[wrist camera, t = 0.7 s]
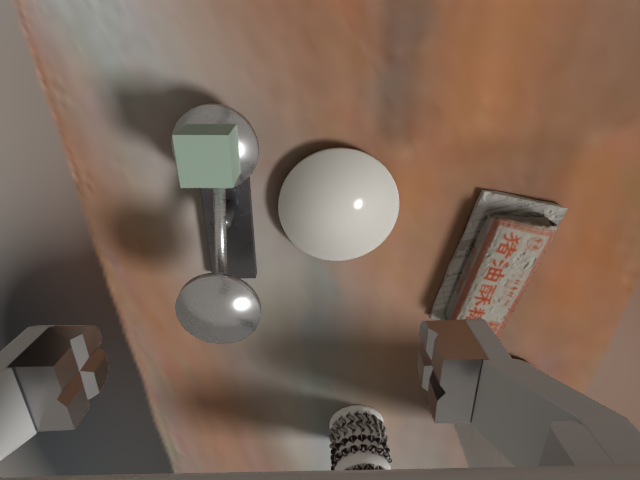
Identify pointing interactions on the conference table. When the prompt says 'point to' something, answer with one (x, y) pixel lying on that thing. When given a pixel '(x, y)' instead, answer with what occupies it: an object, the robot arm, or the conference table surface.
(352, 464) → the decorative candle
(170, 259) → the conference table surface
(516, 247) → the packaged product
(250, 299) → the balance
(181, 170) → the block
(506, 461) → the vase
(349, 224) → the dish
